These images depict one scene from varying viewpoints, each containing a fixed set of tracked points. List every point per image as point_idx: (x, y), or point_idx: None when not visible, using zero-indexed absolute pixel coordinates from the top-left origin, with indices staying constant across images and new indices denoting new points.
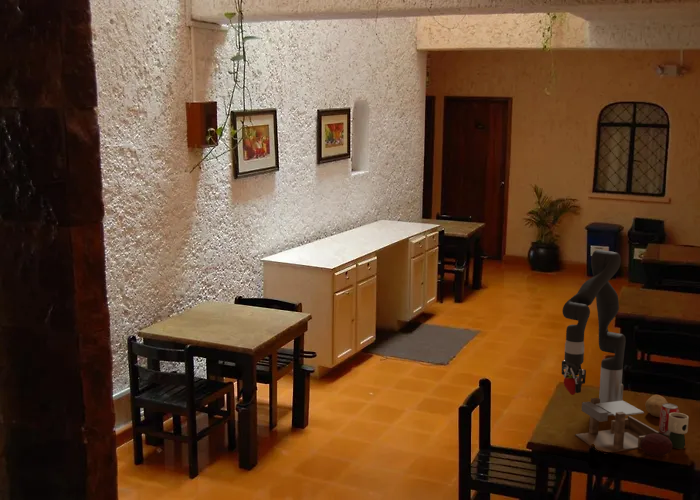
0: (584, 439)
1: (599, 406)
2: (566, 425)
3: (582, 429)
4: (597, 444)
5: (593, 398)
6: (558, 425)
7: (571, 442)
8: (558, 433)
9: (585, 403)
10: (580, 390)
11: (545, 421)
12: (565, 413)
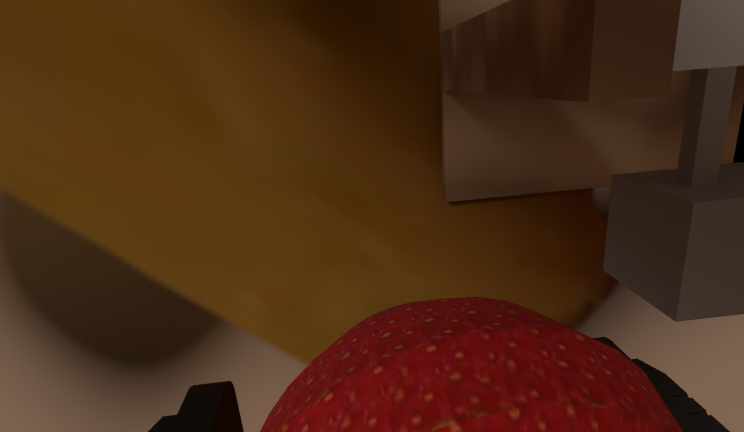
0: (536, 184)
1: (740, 65)
2: (266, 170)
3: (356, 92)
4: (631, 142)
5: (602, 56)
6: (258, 224)
7: (526, 268)
8: (384, 282)
9: (725, 294)
10: (664, 385)
11: (176, 277)
12: (12, 53)
